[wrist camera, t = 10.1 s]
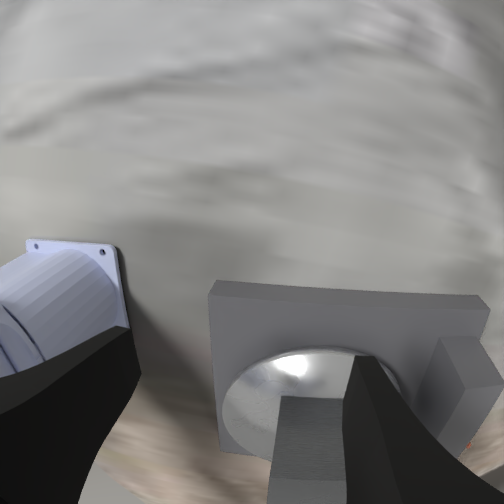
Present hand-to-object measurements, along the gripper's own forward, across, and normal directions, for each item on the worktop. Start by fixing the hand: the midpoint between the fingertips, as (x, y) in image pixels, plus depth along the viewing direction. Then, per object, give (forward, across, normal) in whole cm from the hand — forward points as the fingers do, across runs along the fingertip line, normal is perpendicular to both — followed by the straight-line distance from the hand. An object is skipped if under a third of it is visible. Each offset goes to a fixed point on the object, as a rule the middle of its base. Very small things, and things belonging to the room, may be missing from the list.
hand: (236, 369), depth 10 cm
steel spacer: (+6, -4, +10) cm, 12 cm away
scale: (+10, -6, +10) cm, 16 cm away
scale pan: (+7, -4, +10) cm, 13 cm away
